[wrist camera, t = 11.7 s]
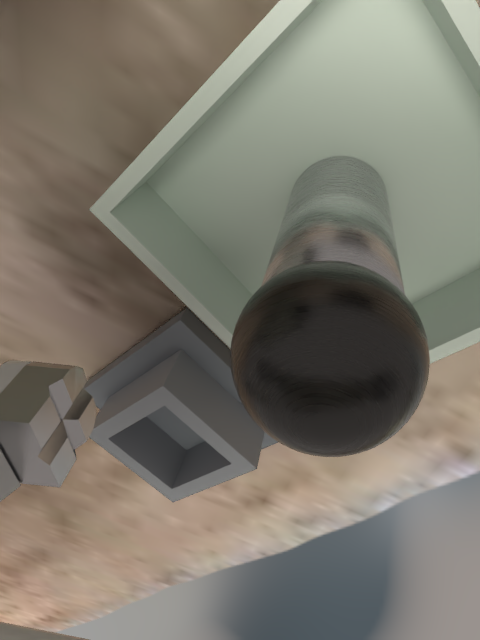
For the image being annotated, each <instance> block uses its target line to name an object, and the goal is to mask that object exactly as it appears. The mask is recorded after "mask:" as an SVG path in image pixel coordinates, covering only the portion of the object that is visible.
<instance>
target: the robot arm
mask: <svg viewBox="0 0 480 640" xmlns="http://www.w3.org/2000/svg"><path fill="white" fill-rule="evenodd" d="M86 383H87V378H86V376H85V373H84V371H83V369H82V368H80V367H77V366H70V365H61V364H51V363H42V362H27V361H18V360H10V361H8V362H5V363H3V364H2V365H1V366H0V502H1V501H2V500H3V499H4V498H6V497H7V496H8V495H10V494H11V493H12V492H13V491H15V490H16V489H17V488H18V487H20V483H23V484H32V485H42V486H52V487H60V486H61V485H62V483H63V481H64V480H65V478H66V476H67V474H68V473H69V471H70V469H71V468H72V466H73V464H74V462H75V461H76V454H75V449H76V448H77V447H79V446H80V445H82V444H83V443H85V442H86V441H87V440H88V438H89V436H90V435H91V433H92V431H93V428H94V424H95V420H96V405H95V402H94V398H93V396H92V395H90V394H89V393H88V392H87V391H86V390H85V389H84V386H85V384H86ZM0 640H89V639H84V638H79V637H74V636H69V635H64V634H59V633H54V632H49V631H44V630H39V629H34V628H29V627H24V626H19V625H14V624H9V623H4V622H0Z"/></svg>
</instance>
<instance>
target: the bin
mask: <svg viewBox="0 0 480 640" xmlns="http://www.w3.org/2000/svg"><path fill="white" fill-rule="evenodd" d="M334 156H348V157H353V158H357V159H360V160H362V161H364V162H366V163H367V164H369V165H370V166H371V167H373V168H374V169H375V170H376V171H377V173H378V174H379V175H380V177H381V178H382V180H383V182H384V184H385V187H386V191H387V196H388V202H389V208H390V213H391V219H392V225H393V230H394V236H395V241H396V247H397V253H398V258H399V264H400V270H401V275H402V281H403V287H404V292H405V296H406V297H407V298H408V299H409V301H410V302H411V304H412V305H413V307H414V308H415V310H416V311H417V313H418V315H419V317H420V319H421V321H422V324H423V326H424V329H425V333H426V336H427V340H428V347H429V357H430V364H431V363H433V362H435V361H437V360H440V359H442V358H444V357H446V356H449V355H451V354H453V353H455V352H458V351H460V350H462V349H464V348H467V347H469V346H471V345H473V344H476V343H478V342H480V8H479V6H478V4H477V2H476V0H280V1H279V2H278V3H277V4H276V5H275V6H274V8H273V9H272V10H271V11H270V12H269V13H268V14H267V15H266V16H265V17H264V19H263V20H262V21H261V22H260V23H259V24H258V25H257V26H256V27H255V28H254V29H253V31H252V32H251V33H250V34H249V35H248V36H247V37H246V38H245V39H244V40H243V42H242V43H241V44H240V45H239V46H238V47H237V48H236V49H235V50H234V51H233V52H232V54H231V55H230V56H229V57H228V58H227V59H226V60H225V61H224V62H223V63H222V65H221V66H220V67H219V68H218V69H217V70H216V71H215V72H214V73H213V74H212V75H211V77H210V78H209V79H208V80H207V81H206V82H205V83H204V84H203V85H202V86H201V88H200V89H199V90H198V91H197V92H196V93H195V94H194V95H193V96H192V97H191V98H190V100H189V101H188V102H187V103H186V104H185V105H184V106H183V107H182V108H181V109H180V111H179V112H178V113H177V114H176V115H175V116H174V117H173V118H172V119H171V120H170V121H169V123H168V124H167V125H166V126H165V127H164V128H163V129H162V130H161V131H160V132H159V134H158V135H157V136H156V137H155V138H154V139H153V140H152V141H151V142H150V143H149V144H148V146H147V147H146V148H145V149H144V150H143V151H142V152H141V153H140V154H139V155H138V157H137V158H136V159H135V160H134V161H133V162H132V163H131V164H130V165H129V166H128V167H127V169H126V170H125V171H124V172H123V173H122V174H121V175H120V176H119V177H118V178H117V180H116V181H115V182H114V183H113V184H112V185H111V186H110V187H109V188H108V189H107V191H106V192H105V193H104V194H103V195H102V196H101V197H100V198H99V199H98V200H97V201H96V203H95V204H94V205H93V206H92V207H91V208H90V209H89V210H90V211H91V212H92V213H93V214H94V215H95V216H96V217H97V218H98V219H99V220H100V221H101V222H102V223H103V224H104V225H105V226H106V227H107V228H108V229H109V230H110V231H111V232H112V233H113V234H114V235H115V236H116V237H118V238H119V239H120V240H121V241H122V242H123V243H124V244H125V245H126V246H127V247H128V248H129V249H130V250H131V251H132V252H133V253H134V254H135V255H136V256H137V257H138V258H139V259H140V260H141V261H142V262H143V263H144V264H145V265H146V266H147V267H148V268H149V269H150V270H151V271H152V272H153V273H154V274H155V275H156V276H157V277H158V278H159V279H160V280H161V281H162V282H163V283H164V284H165V285H166V286H167V287H168V288H169V289H170V290H171V291H172V292H173V293H174V294H175V295H176V296H177V297H178V298H179V299H180V300H181V301H182V302H183V303H184V304H186V305H187V306H188V307H189V308H190V309H191V310H192V311H193V312H194V313H195V314H196V315H197V316H198V317H199V318H200V319H201V320H202V321H203V322H204V323H205V324H206V325H207V326H208V327H209V328H210V329H211V330H212V331H213V332H214V333H215V334H216V335H217V336H218V337H219V338H220V339H221V340H222V341H223V342H224V343H225V344H226V345H227V346H228V347H229V348H230V349H231V341H232V337H233V333H234V329H235V325H236V323H237V320H238V318H239V316H240V314H241V312H242V310H243V308H244V307H245V305H246V304H247V302H248V301H249V299H250V298H251V297H252V296H253V294H254V293H255V292H256V291H257V290H258V289H259V288H260V287H261V285H262V282H263V279H264V276H265V273H266V270H267V267H268V263H269V260H270V257H271V254H272V251H273V248H274V245H275V242H276V239H277V235H278V232H279V229H280V226H281V223H282V220H283V217H284V214H285V211H286V208H287V204H288V201H289V198H290V195H291V192H292V189H293V187H294V184H295V182H296V181H297V179H298V178H299V176H300V175H301V174H302V173H303V172H304V171H305V170H306V169H307V168H308V167H309V166H311V165H312V164H314V163H316V162H317V161H320V160H322V159H325V158H328V157H334Z"/></svg>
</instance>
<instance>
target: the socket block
mask: <svg viewBox="0 0 480 640" xmlns="http://www.w3.org/2000/svg"><path fill="white" fill-rule="evenodd" d="M84 389H85V390H86V391H87V392H88V393H89V394H90V395H92V396H93V398H94V402H95V405H96V406H97V407H98V408H99V409H100V411H99V413H98V415H97V416H96V420H95V424H94V428H93V431H92V433H91V435H90V436H89V437H90V438H91V439H92V440H93V441H95V442H96V443H97V444H99V445H100V446H101V447H102V448H104V449H105V450H106V451H108V452H109V453H110V454H111V455H113V456H114V457H115V458H117V459H118V460H119V461H120V462H122V463H123V464H124V465H126V466H127V467H128V468H129V469H131V470H132V471H133V472H135V473H136V474H137V475H138V476H140V477H141V478H142V479H144V480H145V481H146V482H147V483H149V484H150V485H151V486H153V487H154V488H155V489H156V490H158V491H159V492H160V493H162V494H163V495H164V496H165V497H167V498H168V499H169V500H171V501H172V502H175V501H178V500H180V499H183V498H185V497H188V496H190V495H193V494H195V493H198V492H200V491H203V490H205V489H208V488H210V487H213V486H215V485H218V484H220V483H223V482H225V481H228V480H230V479H233V478H235V477H238V476H240V475H243V474H245V473H248V472H250V471H253V470H255V469H257V466H258V461H259V456H260V451H261V449H263V448H266V447H268V446H271V445H273V444H275V443H278V441H276V440H275V439H273V438H272V437H270V436H269V435H268V434H267V433H265V432H264V431H263V430H262V429H261V428H260V427H259V426H258V425H257V424H256V423H255V422H254V421H253V419H252V418H251V417H250V415H249V414H248V412H247V411H246V409H245V408H244V406H243V404H242V403H241V401H240V399H239V396H238V394H237V391H236V388H235V386H234V382H233V378H232V372H231V364H230V349H229V348H228V347H227V346H226V345H225V344H224V343H223V342H221V341H220V340H219V339H218V338H217V337H216V336H215V335H214V334H213V333H212V332H211V331H210V330H209V329H208V328H207V327H206V326H205V325H204V324H203V323H202V322H201V321H200V320H199V319H198V318H197V317H196V316H195V315H194V314H193V313H192V312H191V311H190V310H189V309H188V308H186V309H184V310H183V311H182V312H180V313H179V314H177V315H176V316H175V317H173V318H172V319H171V320H169V321H168V322H167V323H165V324H164V325H162V326H161V327H160V328H158V329H157V330H156V331H154V332H153V333H152V334H150V335H149V336H147V337H146V338H145V339H143V340H142V341H141V342H139V343H138V344H137V345H135V346H134V347H132V348H131V349H130V350H128V351H127V352H126V353H124V354H123V355H122V356H120V357H119V358H117V359H116V360H115V361H113V362H112V363H111V364H109V365H108V366H107V367H105V368H104V369H102V370H101V371H100V372H98V373H97V374H96V375H94V376H93V377H92V378H90V379H89V380H88V381H87V383H86V384H85V386H84Z"/></svg>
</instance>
